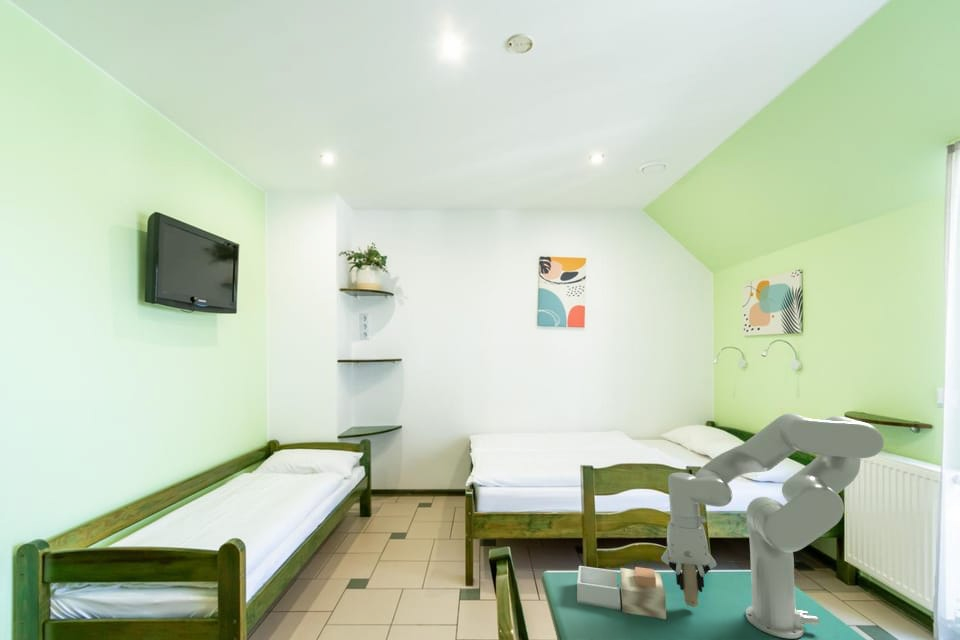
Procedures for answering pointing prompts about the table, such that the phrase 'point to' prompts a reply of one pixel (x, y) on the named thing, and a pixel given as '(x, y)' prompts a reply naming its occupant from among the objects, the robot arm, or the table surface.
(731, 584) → the table surface
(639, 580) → the tile
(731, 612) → the table surface
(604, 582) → the box
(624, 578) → the beige textured block
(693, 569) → the handle
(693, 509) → the robot arm
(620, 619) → the table surface
